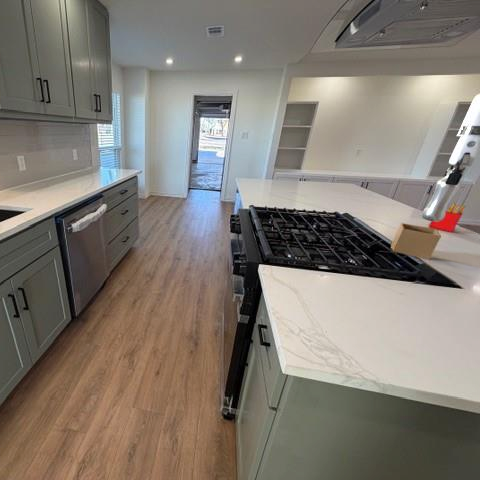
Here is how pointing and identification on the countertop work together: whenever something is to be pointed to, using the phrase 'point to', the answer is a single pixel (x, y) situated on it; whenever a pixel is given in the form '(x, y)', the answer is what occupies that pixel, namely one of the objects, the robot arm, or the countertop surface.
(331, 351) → the countertop surface
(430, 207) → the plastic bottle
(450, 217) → the french fries container
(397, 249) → the bottle box
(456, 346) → the countertop surface
